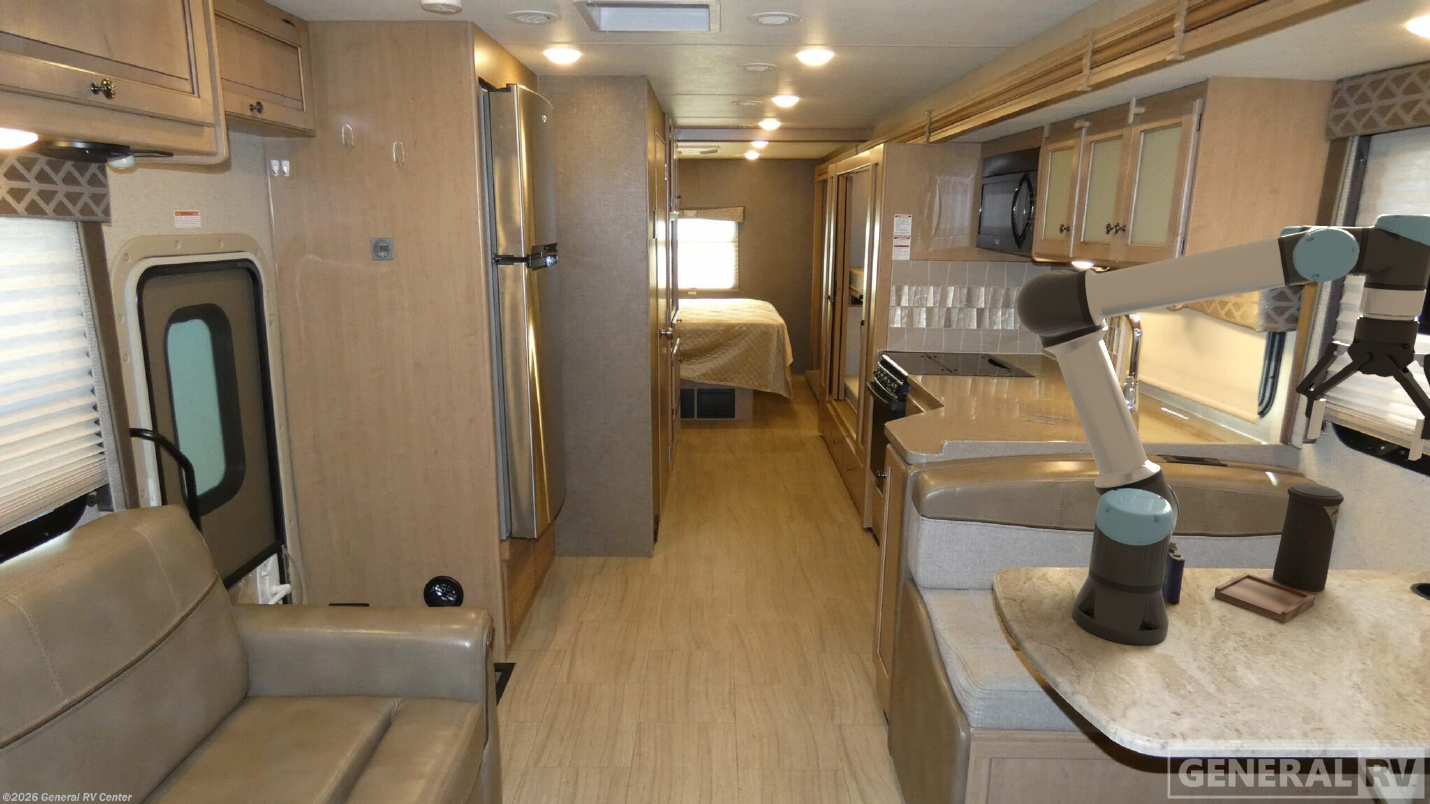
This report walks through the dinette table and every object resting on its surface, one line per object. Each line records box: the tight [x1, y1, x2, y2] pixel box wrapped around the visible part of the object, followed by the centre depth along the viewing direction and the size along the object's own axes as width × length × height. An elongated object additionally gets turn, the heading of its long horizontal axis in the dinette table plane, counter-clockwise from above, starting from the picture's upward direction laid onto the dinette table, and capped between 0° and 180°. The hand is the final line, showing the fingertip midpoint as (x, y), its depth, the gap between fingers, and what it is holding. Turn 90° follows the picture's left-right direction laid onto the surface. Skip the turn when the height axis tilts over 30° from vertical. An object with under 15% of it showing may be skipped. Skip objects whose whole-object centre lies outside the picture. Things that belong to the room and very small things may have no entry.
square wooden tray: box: [1213, 572, 1316, 623], centre depth 152 cm, size 12×12×2 cm
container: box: [1272, 482, 1345, 592], centre depth 157 cm, size 9×9×20 cm
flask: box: [1162, 541, 1186, 605], centre depth 153 cm, size 9×3×11 cm, turn 175°
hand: (1361, 448), depth 130 cm, fingers open, 13 cm apart
